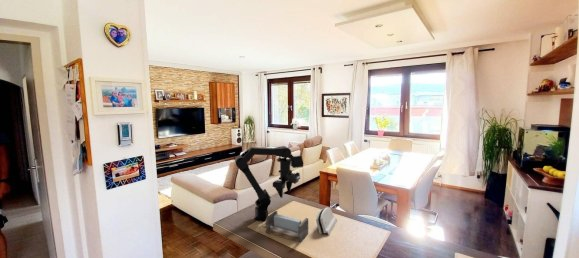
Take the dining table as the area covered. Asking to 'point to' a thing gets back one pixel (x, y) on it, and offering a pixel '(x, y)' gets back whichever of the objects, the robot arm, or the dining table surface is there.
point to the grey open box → (286, 233)
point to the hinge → (325, 221)
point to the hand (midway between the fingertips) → (285, 194)
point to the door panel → (286, 223)
